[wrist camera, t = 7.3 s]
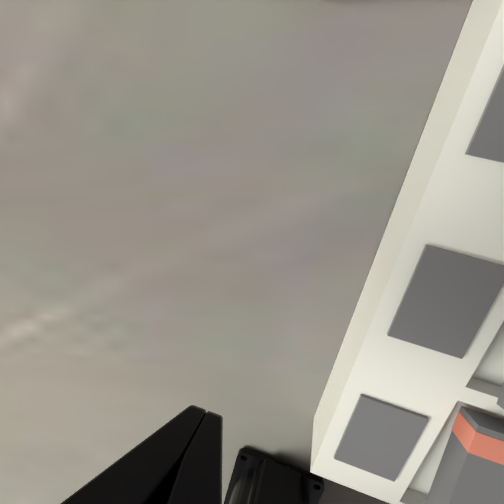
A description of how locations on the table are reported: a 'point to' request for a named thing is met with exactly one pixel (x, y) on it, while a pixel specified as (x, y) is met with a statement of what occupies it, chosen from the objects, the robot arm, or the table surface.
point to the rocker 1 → (471, 462)
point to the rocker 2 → (501, 398)
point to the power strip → (428, 292)
